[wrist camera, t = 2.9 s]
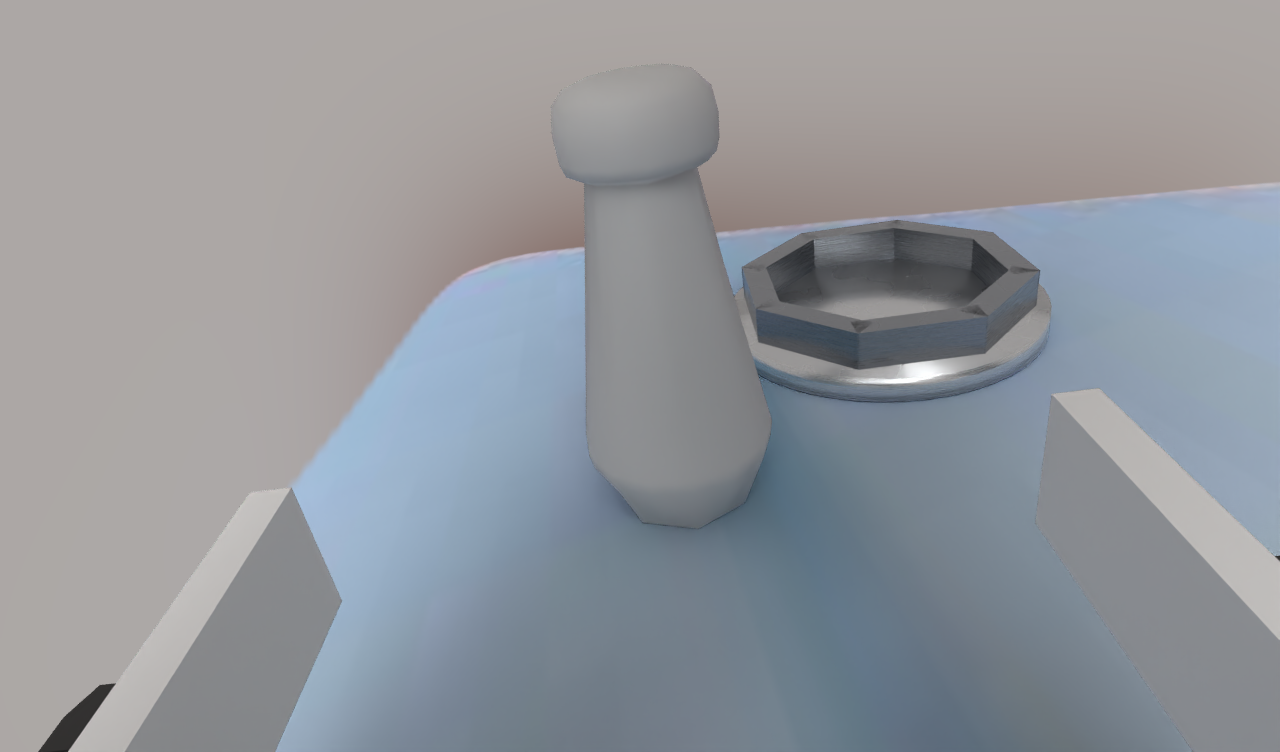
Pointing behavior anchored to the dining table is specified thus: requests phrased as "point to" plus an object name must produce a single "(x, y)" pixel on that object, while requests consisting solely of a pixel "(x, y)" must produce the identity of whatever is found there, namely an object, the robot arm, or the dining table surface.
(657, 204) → the salt shaker
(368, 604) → the dining table surface
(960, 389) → the steel collar
